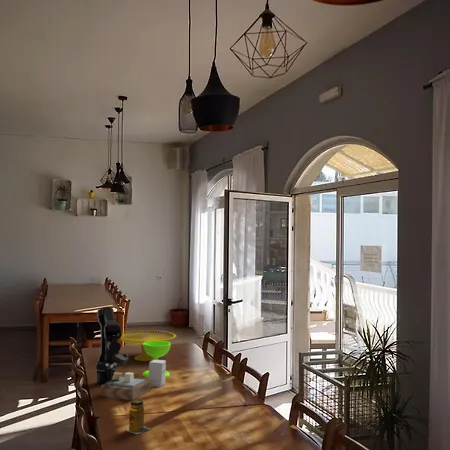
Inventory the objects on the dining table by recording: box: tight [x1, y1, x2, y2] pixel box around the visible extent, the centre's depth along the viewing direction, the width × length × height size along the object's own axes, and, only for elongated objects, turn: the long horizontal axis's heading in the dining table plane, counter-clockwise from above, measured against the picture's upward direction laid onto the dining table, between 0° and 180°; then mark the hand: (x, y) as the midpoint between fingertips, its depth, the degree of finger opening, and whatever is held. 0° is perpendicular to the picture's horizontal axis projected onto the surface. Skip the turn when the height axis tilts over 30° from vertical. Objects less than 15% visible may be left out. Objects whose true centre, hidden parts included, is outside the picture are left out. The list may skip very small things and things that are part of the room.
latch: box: [112, 371, 124, 381], centre depth 284 cm, size 4×4×3 cm
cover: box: [112, 371, 145, 388], centre depth 282 cm, size 12×12×5 cm
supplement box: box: [148, 359, 167, 388], centre depth 300 cm, size 7×7×13 cm
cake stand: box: [118, 329, 177, 362], centre depth 361 cm, size 40×40×15 cm
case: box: [100, 375, 151, 401], centre depth 282 cm, size 18×18×6 cm
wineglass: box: [141, 341, 172, 379], centre depth 321 cm, size 16×16×18 cm
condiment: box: [125, 399, 152, 435], centre depth 230 cm, size 7×8×12 cm
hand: (110, 380), depth 278 cm, fingers closed
